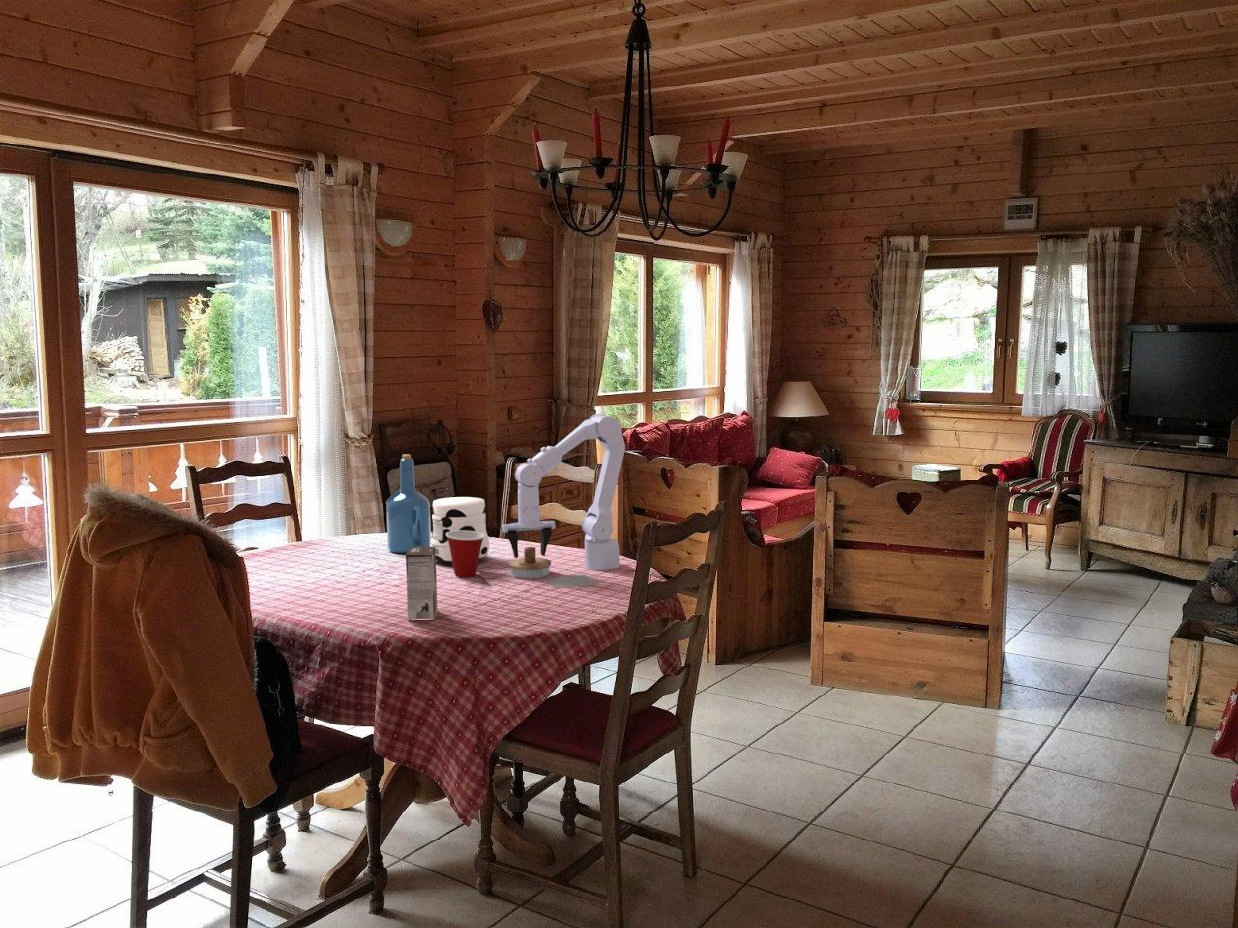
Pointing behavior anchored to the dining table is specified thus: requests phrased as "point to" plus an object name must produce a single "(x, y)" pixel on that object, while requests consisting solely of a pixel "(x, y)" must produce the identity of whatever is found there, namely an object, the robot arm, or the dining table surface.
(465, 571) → the plastic cup
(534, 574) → the bowl
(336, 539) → the dining table surface
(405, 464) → the wine bottle
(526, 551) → the lid
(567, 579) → the mat
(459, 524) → the white black patterned jar
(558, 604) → the dining table surface
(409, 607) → the coffee box
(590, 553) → the robot arm
